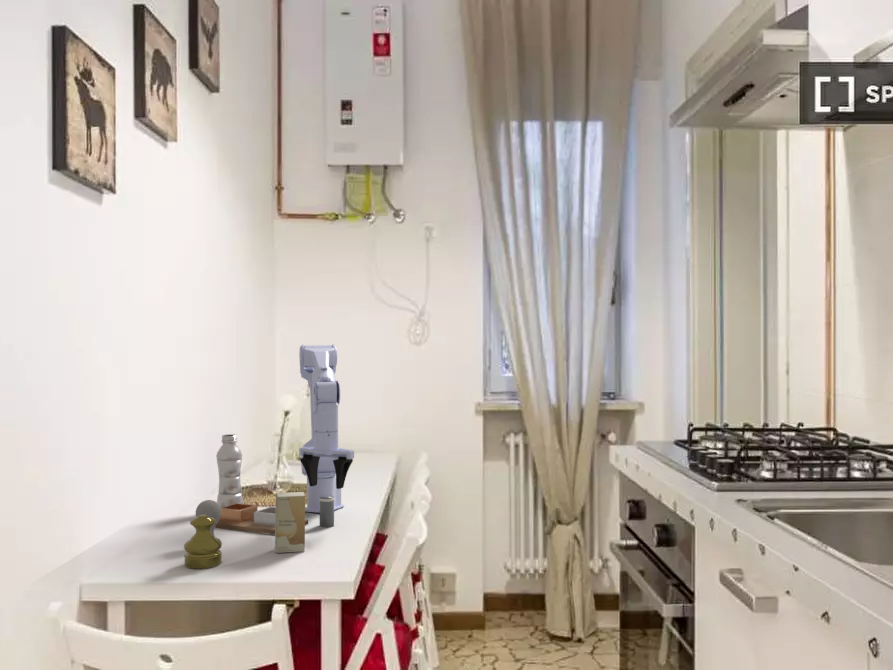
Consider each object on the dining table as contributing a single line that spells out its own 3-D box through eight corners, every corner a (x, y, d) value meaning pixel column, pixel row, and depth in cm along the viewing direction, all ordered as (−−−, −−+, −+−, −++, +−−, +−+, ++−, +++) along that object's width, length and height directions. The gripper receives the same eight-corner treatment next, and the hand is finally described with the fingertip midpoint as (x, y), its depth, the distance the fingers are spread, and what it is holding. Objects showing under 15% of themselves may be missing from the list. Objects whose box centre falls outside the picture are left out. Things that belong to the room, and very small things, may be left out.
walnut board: (236, 515, 211) (236, 511, 211) (308, 524, 202) (308, 519, 202) (204, 526, 200) (204, 522, 200) (278, 535, 191) (278, 531, 191)
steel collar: (270, 518, 203) (270, 506, 203) (292, 521, 201) (292, 509, 201) (254, 524, 198) (253, 512, 198) (276, 527, 195) (276, 514, 195)
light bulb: (211, 540, 187) (211, 496, 186) (226, 544, 183) (226, 499, 183) (190, 545, 182) (190, 500, 182) (205, 549, 179) (204, 503, 179)
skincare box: (275, 553, 175) (275, 496, 175) (274, 548, 180) (274, 492, 179) (306, 551, 177) (306, 494, 177) (304, 546, 181) (304, 490, 181)
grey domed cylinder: (324, 523, 203) (324, 494, 203) (337, 524, 201) (337, 496, 201) (316, 526, 200) (316, 497, 199) (329, 528, 198) (328, 498, 198)
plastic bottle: (236, 514, 213) (235, 437, 213) (212, 513, 214) (211, 436, 214) (247, 509, 219) (246, 434, 219) (223, 508, 220) (223, 433, 220)
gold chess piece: (225, 558, 172) (225, 511, 172) (217, 569, 164) (216, 519, 164) (190, 559, 172) (189, 511, 172) (179, 569, 164) (179, 519, 164)
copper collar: (236, 515, 208) (236, 503, 208) (257, 517, 205) (257, 505, 205) (219, 520, 202) (219, 508, 202) (240, 523, 199) (240, 510, 199)
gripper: (291, 431, 200) (292, 487, 200) (343, 434, 194) (343, 492, 194) (308, 428, 206) (308, 482, 206) (358, 430, 200) (358, 486, 200)
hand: (326, 486), depth 200 cm, fingers open, 7 cm apart
